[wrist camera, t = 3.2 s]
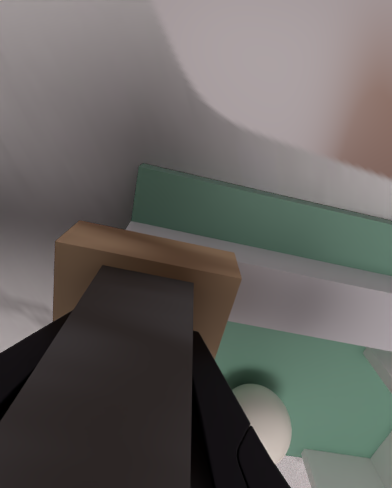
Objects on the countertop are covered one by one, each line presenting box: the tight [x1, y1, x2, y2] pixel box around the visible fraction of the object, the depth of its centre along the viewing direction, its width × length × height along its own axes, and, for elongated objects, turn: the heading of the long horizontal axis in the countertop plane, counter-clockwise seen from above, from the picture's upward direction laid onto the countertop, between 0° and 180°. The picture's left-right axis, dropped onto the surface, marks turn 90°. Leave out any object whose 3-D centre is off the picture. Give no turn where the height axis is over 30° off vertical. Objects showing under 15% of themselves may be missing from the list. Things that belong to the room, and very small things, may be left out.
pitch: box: [125, 163, 392, 488], centre depth 15 cm, size 21×18×4 cm
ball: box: [232, 384, 292, 465], centre depth 16 cm, size 4×4×4 cm
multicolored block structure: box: [0, 220, 242, 488], centre depth 10 cm, size 6×12×10 cm, turn 167°
